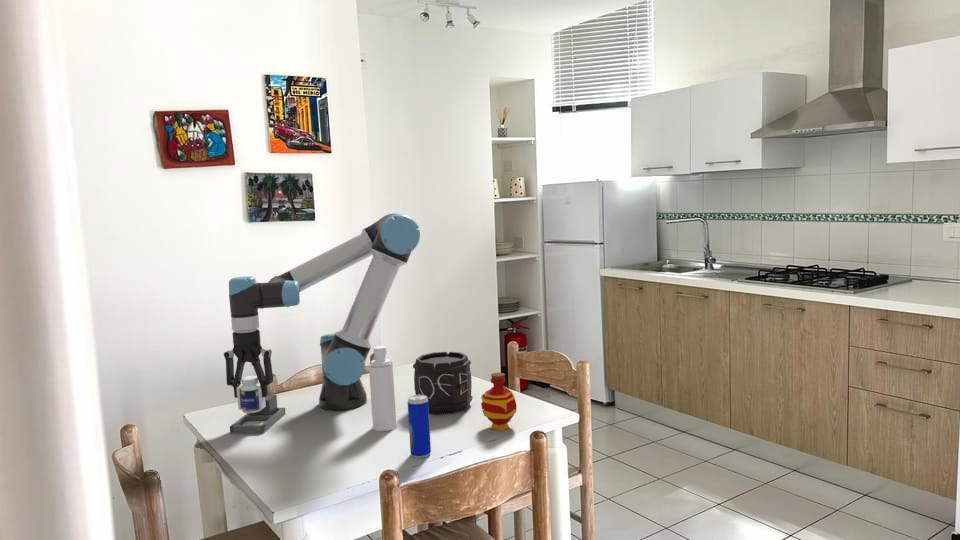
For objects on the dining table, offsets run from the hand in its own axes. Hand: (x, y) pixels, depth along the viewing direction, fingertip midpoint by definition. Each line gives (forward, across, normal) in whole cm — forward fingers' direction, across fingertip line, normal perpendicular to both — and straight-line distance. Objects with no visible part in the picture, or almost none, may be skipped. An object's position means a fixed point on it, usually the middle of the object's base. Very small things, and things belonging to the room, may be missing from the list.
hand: (252, 407), depth 201 cm
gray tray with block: (+6, 0, -4) cm, 7 cm away
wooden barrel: (+6, -55, -16) cm, 57 cm away
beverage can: (+6, -54, +23) cm, 59 cm away
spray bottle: (+6, -40, +2) cm, 40 cm away
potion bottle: (+6, -73, +3) cm, 73 cm away
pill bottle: (+1, 0, 0) cm, 1 cm away
